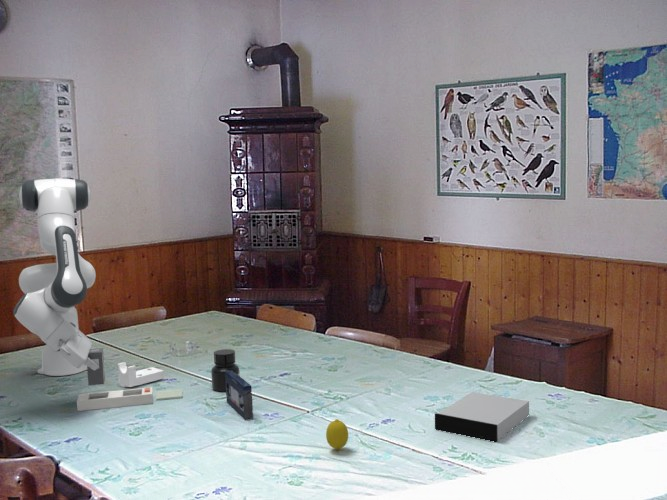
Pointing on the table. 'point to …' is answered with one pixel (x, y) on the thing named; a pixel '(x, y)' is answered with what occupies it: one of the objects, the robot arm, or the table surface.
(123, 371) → the bracket
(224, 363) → the ink bottle
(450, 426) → the disc drive
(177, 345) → the table surface
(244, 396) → the vhs cassette tape
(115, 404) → the power strip
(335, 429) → the lemon
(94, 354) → the grey square pillar
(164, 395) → the felt pad
